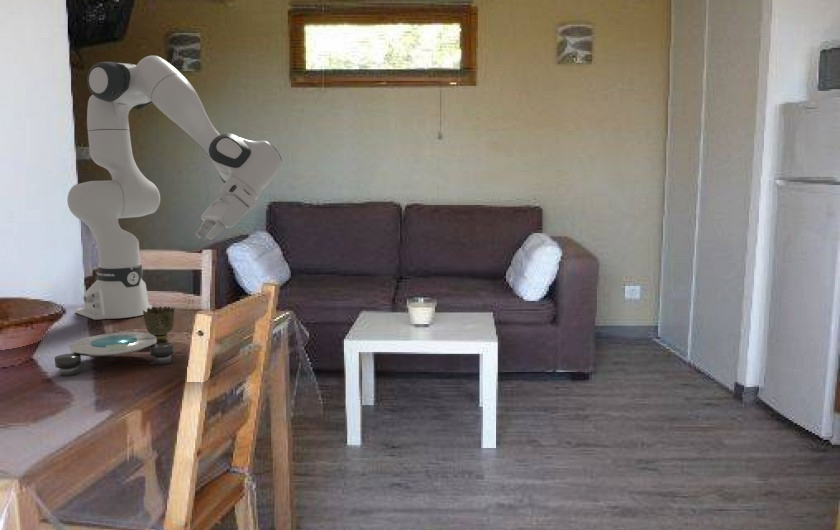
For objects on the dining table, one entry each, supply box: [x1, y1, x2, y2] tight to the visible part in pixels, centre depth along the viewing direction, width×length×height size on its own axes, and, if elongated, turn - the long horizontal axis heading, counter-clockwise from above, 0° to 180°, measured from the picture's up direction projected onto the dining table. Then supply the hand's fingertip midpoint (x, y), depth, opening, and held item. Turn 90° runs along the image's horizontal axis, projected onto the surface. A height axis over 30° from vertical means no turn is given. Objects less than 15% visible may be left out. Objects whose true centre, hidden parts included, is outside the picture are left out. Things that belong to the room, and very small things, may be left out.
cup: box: [143, 306, 176, 342], centre depth 185 cm, size 8×7×8 cm
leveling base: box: [54, 331, 175, 377], centre depth 164 cm, size 24×22×6 cm
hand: (203, 237), depth 188 cm, fingers open, 8 cm apart
